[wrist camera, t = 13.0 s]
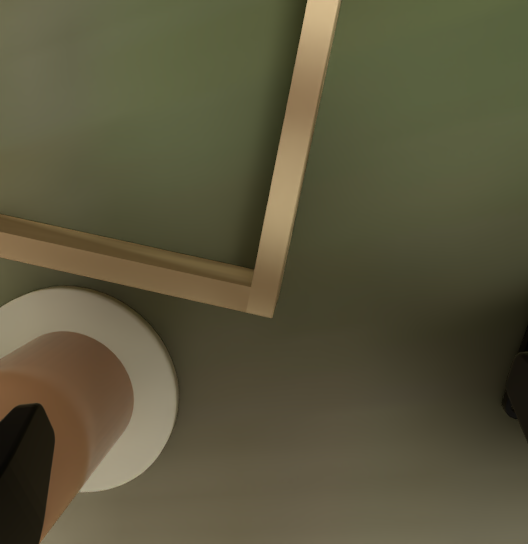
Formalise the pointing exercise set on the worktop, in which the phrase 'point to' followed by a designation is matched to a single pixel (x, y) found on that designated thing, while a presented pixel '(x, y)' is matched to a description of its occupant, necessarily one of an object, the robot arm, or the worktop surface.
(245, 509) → the worktop surface
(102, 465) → the ceramic saucer
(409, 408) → the worktop surface
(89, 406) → the terracotta pot
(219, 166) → the worktop surface
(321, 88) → the pine frame
